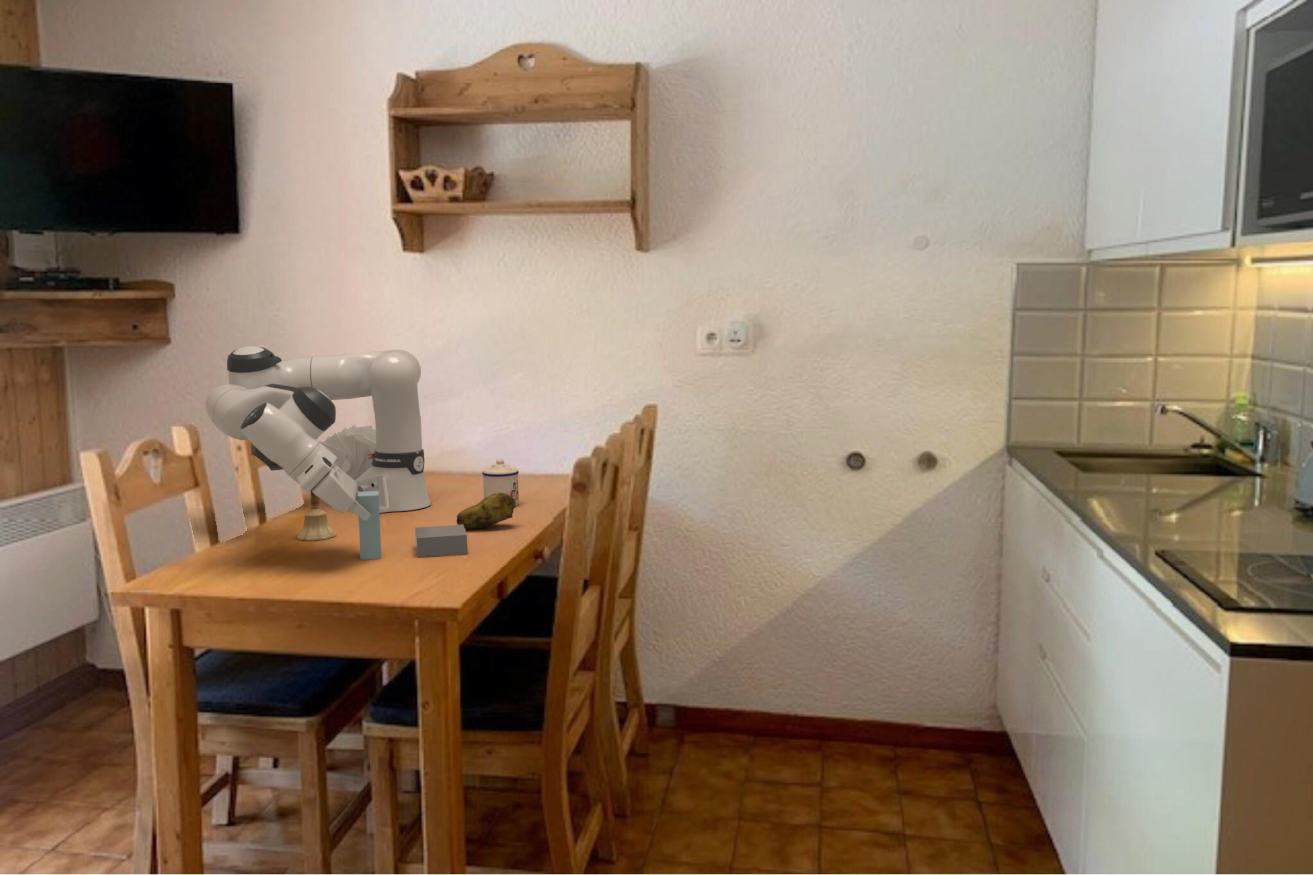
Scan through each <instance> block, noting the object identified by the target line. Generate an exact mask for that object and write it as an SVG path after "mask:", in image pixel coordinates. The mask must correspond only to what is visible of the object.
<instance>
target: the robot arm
mask: <svg viewBox="0 0 1313 875" xmlns="http://www.w3.org/2000/svg"><path fill="white" fill-rule="evenodd" d="M421 368H422V367H421V364H420V363H419V360H418V359H417V358H416V356H414V354H413V353H411V352H409V351H407V350H404V349H390V350H389V349H388V350H377V351H366V352H364V351H363V352H354V353H342V354H341V353H340V354H329V355H326V354H325V355H313V356H312V355H311V356H302V357H296V358H291V359H287V360H283V361H282V358H281V357H280V356H276V355H275V353H273V351H271V350H269V349H268V348H266V347H262V346H257V345H247V346H243V347H240V348H237V349H234V350H233V351H231V352H230V353H229V354H228V356H227V360H226V370H227V371H228V383H226V384H221V385H219V386H218V385H217V386H216V387H215V388H213V389H212V390H211V391H210V392H209V394H208V395H207V397H206V401H205V409H206V410H205V411H206V413H207V415H208V417H209V419H210V421H211V422H212V423H213V424H214V425H215V427H216V428H217V429H218V430H220V431H221V432H222V433H223V434H225V435H226V436H228V437H229V438H232V439H235V440H240V441H249V442H250V451H251V452H250V453H251V456H254V457H256V458H257V459H259V461H261V462H262V463H263V464H264V465H266V466H267V467H268V468H269V470H270V471H274V472H275V471H282V470H283V471H284V472H285V473H286V475H287V476H288V477H290V478H291V479H292V480H293V481H294V482H296V483H297V484H298V485H299V486H300V488H302V489H303V490H304V491H305V492H307V493H311V490H312V492H313V493H314V494H315V495H316V496H317V497H319V499H320V500H321V501H323V502H324V503H325V504H327V505H328V506H330V507H331V508H333V510H336V511H337V512H340V513H342V514H345V513H346V512H347V511H350V512H351V513H352V514H354V515H356V516H357V517H358V518H359V517H360V518H361V519H363V520H364V521H366V520H367V519H368V518H369V517H370V515H371V514H370V512H369V511H368V510H367V509H365V508H363V507H362V506H361V505H360V504H359V503H358V492H365V491H379V513H380V514H381V513H389V512H403V511H413V510H418V509H423V508H427V507H429V506H431V504H432V503H431V500H430V496H429V494H428V488H427V483H426V478H425V472H424V468H425V463H426V462H425V450H424V449H423V443H422V442H423V440H422V438H423V437H422V418H421V417H422V416H421V412H420V411H421V409H420V402H419V391H418V390H419V389H418V383H419V382H420V379H421V377H422V376H421V375H422V369H421ZM366 397H371V399H372V407H373V414H374V420H375V423H374V424H375V430H376V446H377V451H376V452H375V453H373V454H369V455H371V457H369V458H368V459H372V458H373V460H372V464H371V465H372V466H371V467H370V468H368V469H367V470H366V471H365V472H364V473H363V474H362V475H360V476H359V477H358V478H357V479H356V480H355V481H354V480H353V479H352V478H351V477H350V476H349V475H347V474H346V473H345V472H344V471H342V470H341V469H340V468H339V467H338V466H337V465H336V464H335V463H334V462H335V460H336V459H337V457H336V456H335V455H334V454H333V453H332V452H331V451H329V450H328V449H327V448H326V447H325V446H324V445H322V444H321V443H320V442H319V441H320V440H318V439H319V437H321V435H322V434H323V433H325V432H326V431H327V430H328V429H330V427H332V426H333V425H334V424H335V422H336V418H337V417H336V414H337V410H336V405H335V404H334V402H333V401H337V400H339V401H341V400H350V399H351V400H352V399H358V398H366ZM369 455H368V456H369Z"/></svg>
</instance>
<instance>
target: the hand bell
mask: <svg viewBox="0 0 1313 875" xmlns="http://www.w3.org/2000/svg"><path fill="white" fill-rule="evenodd" d="M319 499H320V498H319V497H317V496H316V495H315V494H314V493H313V492H312V490H311V491H310V509H309V510H308V511H307V512H305V513H304V522H303V527H302V529H301V530H300V532H299V533H298V534H297V535H296V538H297V539H298V540H299V541H314V542H315V541H323V540H329V539H332V538H335V537H336V536H337V533H336V531H335V530H334V529H332V527H331V526H330V524H329V521H328V518H327V517H328V516H327V512H326V511H324V510H323V509H320V502H319V501H320V500H319Z"/></svg>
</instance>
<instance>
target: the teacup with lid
mask: <svg viewBox="0 0 1313 875" xmlns="http://www.w3.org/2000/svg"><path fill="white" fill-rule="evenodd" d="M481 473H482V477H483V480H482V481H483V482H482V483H483V499H484V498H486V497H488V496H490V495H492V494H497V493H505V494H508V495H510V496H511V497H513V498H514V500H515V503H516V505H515V506H516V507H518V506H519V503H520V501H519V500H520V499H519V497H520V496H519V469H518V468H517V467H514V466H511V465H510V464H508V463H506V462H505V460H504V459H496V461H495V463H494V464H492V465H491V466H488V467H485V468H484V469H483V470H482V472H481Z"/></svg>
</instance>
